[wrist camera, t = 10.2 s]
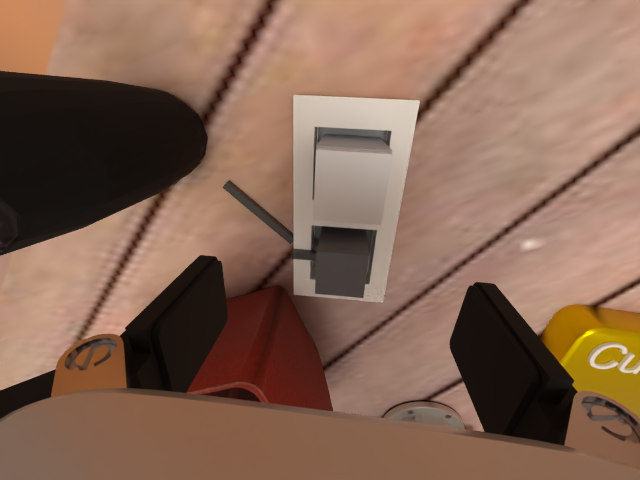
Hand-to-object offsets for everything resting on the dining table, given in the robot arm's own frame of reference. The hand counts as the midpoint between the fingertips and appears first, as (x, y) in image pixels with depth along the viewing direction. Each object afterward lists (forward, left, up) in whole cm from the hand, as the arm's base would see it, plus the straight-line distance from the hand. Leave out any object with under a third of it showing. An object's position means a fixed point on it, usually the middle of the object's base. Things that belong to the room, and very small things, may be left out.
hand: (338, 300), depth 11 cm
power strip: (+4, +3, -19) cm, 20 cm away
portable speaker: (+18, -3, -20) cm, 27 cm away
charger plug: (0, -2, -19) cm, 19 cm away
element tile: (-33, +21, -20) cm, 44 cm away
